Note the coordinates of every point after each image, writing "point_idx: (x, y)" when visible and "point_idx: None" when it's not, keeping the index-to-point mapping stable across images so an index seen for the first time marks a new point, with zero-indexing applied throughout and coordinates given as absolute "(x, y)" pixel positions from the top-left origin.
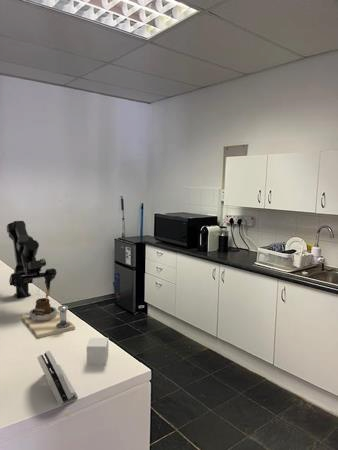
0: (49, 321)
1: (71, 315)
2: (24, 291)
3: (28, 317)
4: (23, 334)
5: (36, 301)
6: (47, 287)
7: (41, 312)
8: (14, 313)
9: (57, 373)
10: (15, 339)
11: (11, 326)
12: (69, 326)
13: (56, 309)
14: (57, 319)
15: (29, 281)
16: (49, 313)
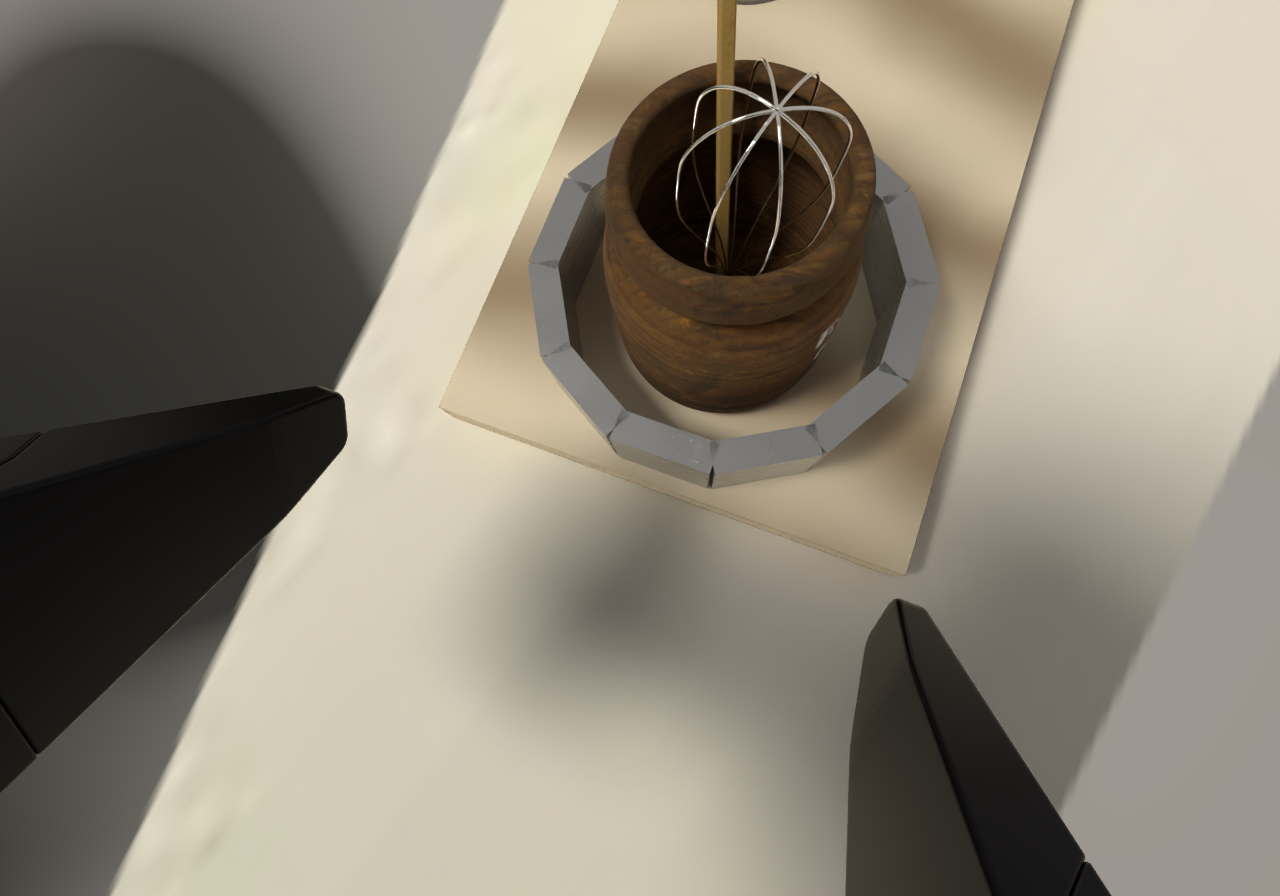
0: None
1: (435, 181)
2: (980, 698)
3: (871, 447)
4: (1131, 150)
5: (872, 209)
6: (240, 465)
7: (812, 201)
8: (842, 878)
9: None
10: (1261, 108)
11: (1124, 457)
12: None
13: (572, 173)
14: None
15: None
16: (684, 209)
